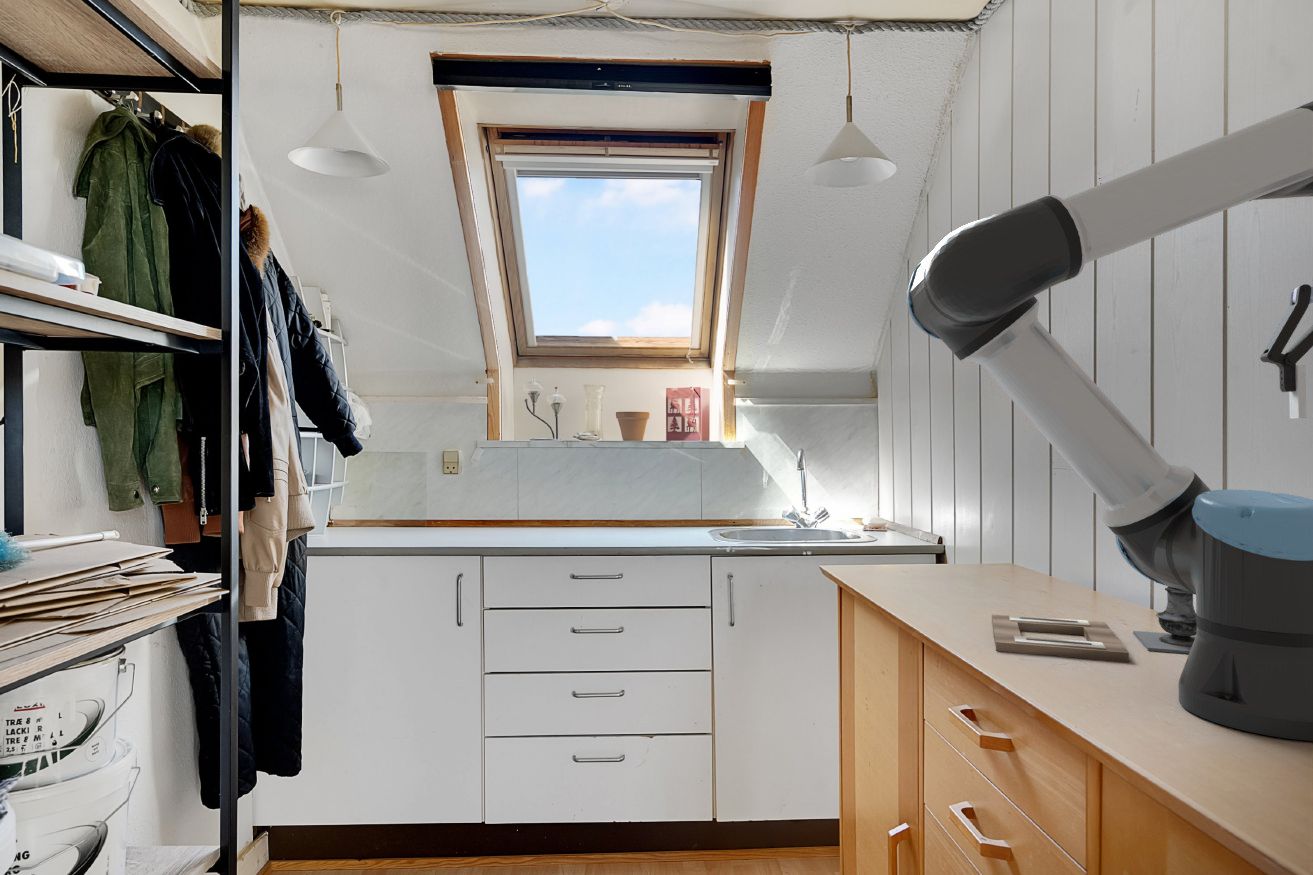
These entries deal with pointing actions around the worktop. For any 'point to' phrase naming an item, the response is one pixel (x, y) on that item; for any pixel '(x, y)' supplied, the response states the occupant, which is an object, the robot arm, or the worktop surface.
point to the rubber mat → (1159, 642)
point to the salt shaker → (1178, 618)
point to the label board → (1096, 634)
